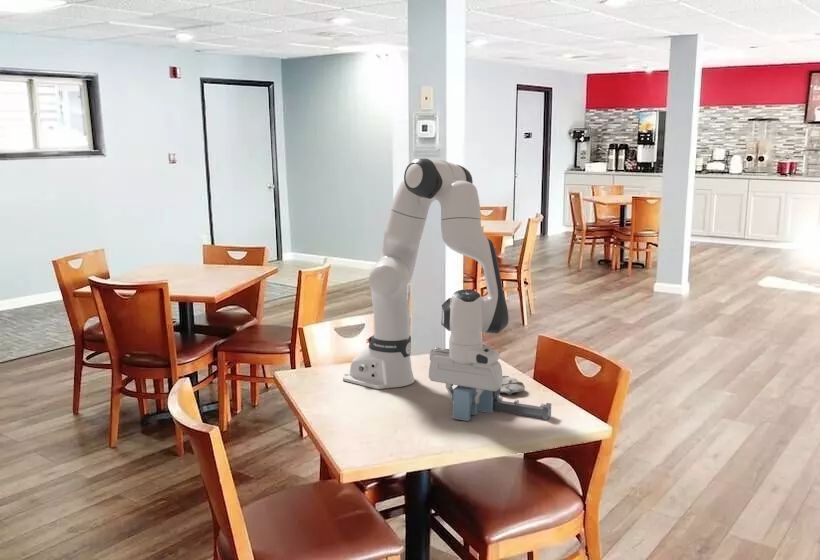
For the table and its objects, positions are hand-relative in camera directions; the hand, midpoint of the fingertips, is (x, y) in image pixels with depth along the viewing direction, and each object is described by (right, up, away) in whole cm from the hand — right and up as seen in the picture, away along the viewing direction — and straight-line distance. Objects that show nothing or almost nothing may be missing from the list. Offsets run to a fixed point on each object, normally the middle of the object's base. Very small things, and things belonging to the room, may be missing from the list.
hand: (464, 401), depth 202 cm
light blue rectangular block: (+7, -3, +8) cm, 11 cm away
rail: (+12, -4, +5) cm, 14 cm away
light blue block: (0, -4, +1) cm, 4 cm away
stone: (+15, -1, +23) cm, 27 cm away
